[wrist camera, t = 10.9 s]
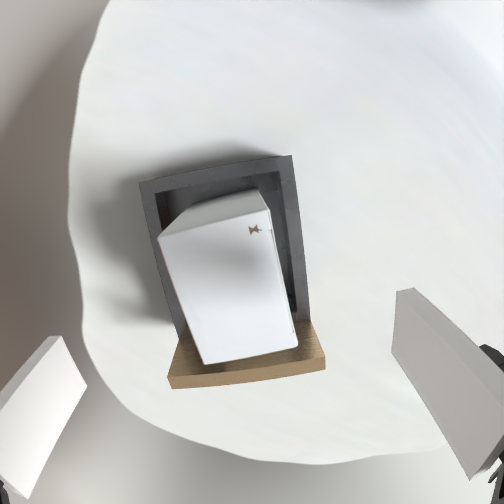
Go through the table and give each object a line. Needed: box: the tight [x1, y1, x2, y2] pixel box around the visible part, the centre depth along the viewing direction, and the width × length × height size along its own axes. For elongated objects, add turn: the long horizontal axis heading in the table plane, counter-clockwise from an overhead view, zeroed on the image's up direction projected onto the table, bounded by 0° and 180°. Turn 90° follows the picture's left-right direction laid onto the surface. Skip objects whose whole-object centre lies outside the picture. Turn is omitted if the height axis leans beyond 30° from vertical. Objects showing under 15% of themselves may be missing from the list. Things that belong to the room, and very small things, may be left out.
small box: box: [157, 188, 298, 365], centre depth 20 cm, size 8×6×10 cm
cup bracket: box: [139, 155, 325, 389], centre depth 22 cm, size 11×14×9 cm
